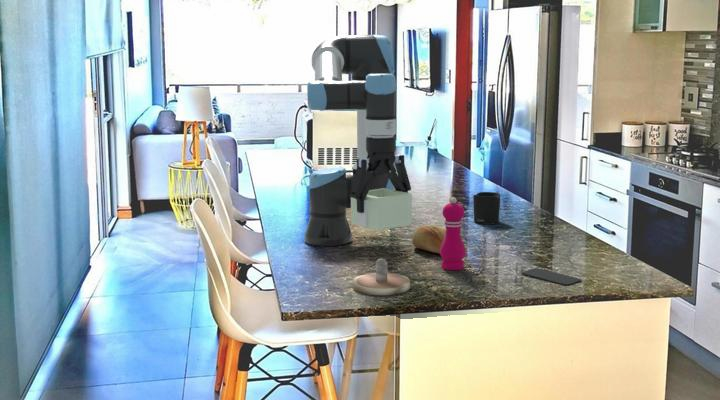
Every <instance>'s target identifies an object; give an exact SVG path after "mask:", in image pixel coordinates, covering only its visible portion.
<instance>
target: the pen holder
mask: <svg viewBox="0 0 720 400" xmlns="http://www.w3.org/2000/svg"><path fill="white" fill-rule="evenodd" d="M472 197H473V221H474V223H476V224H479V225H496V224H497V223H499V221H500V220H499V219H500V206H501V194H500V193H498V192H493V191H480V192H478V193H476V194H473V195H472Z"/></svg>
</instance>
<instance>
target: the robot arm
mask: <svg viewBox="0 0 720 400" xmlns="http://www.w3.org/2000/svg"><path fill="white" fill-rule="evenodd" d="M393 52H394V51H393V47H392V42H391V39H390V38H389V37H388V36H387V35H379V34H362V35H361V34H360V35H359V34H358V35H346V34H345V35H336V36H333V37H330V38H328V39H326V40H324V41H323V42H321V43H320V44H319V45H317V47H316V48H315V49H314V50H313V53H312V54H311V55H312V56H311V67H312V69H313V70H314V71H313V72H314V80H313V81H308V82H307V84H306V85H307V87H306V90H307V93H306V94H307V95H306V96H307V98H306V99H307V108H308V109H309V110H311V111H320V112H323V111H353V110H354V111H356V131H357V132H356V143H357V144H356V145H357V146H356V147H357V149H356V151H357V152H356V157H357V158H356V159H357V160H356V162H355V163H354V164H353V165H352V171H347V169H346V168H345V167H343V166H336V167H335V166H334V167H326V168H321V169H318V170H317V169H316V170H315V171H312V173H311V174H310V175H309V179H308V180H309V182H308V183H309V184H308V189H309V220H308V223H307V225H306V226H307V227H306V231H305V233H304V242H305V243H306V244H308V245H311V246H312V245H313V246H320V247H330V246H331V247H333V246H343V245H347V244H349V243H351V242H353V241H352V240H353V235H352V231H351V230H352V229H351V226H350V224H349V222H348V219H347V209H351V198H354V199H356V200H357V212H358V213H359V225H363V226H368V200H365V198H366V196H367V194H368V192H369V190H374V189H381V188H386V189H391V190H396V191H401V192H406V193H409V191H411V190H412V186H411V182H410V179H409V175H408V171H407V169H406V165H405V154H404V155H403V154H398V153H396V154H395V152H396V151H397V138H396V136H395V135H396V134H397V129H396V128H397V127H396V126H397V125H396V124H397V119H396V118H397V117H396V105H397V104H396V103H397V95H396V94H397V84H396V83H397V82H396V76H395V75H394V73H395V59H394V53H393ZM343 75H351V80H343Z"/></svg>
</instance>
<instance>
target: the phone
mask: <svg viewBox="0 0 720 400" xmlns="http://www.w3.org/2000/svg"><path fill="white" fill-rule="evenodd" d="M521 275H522V276H523V277H528V276H529V278H533V279H536V280H540V281H544V282H548V281H549V282H548V283H552V284H557V285H560V286H566V287H567V286H572V285H575V284H577V283H578V284H579V283H581V282H582V279H581V278H578V277H576V276H570V275H567V274H563V273H558V272H555V271H550V270H547V269H542V268H537V267H534V268H533V267H532V268H531V269H528V270H527V269H526V270H524V271H522V272H521Z"/></svg>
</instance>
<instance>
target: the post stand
mask: <svg viewBox="0 0 720 400" xmlns="http://www.w3.org/2000/svg"><path fill="white" fill-rule="evenodd" d="M352 289H353V290H354V291H355V292H357V293H360V294H364V295H368V296H369V295H370V296H394V295H395V296H396V295H399V294H403V293H406V292H407V291H409V290H410V289H411V279H410V277H407V276H405V275H401V274H398V273H393V272H392V273H390V272H388V262H387V260H386V259H385V258H378V259H377V260H376V261H375V272H374V273H373V272H372V273H364V274H360V275H358V276H356V277H354V278H353V279H352Z"/></svg>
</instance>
